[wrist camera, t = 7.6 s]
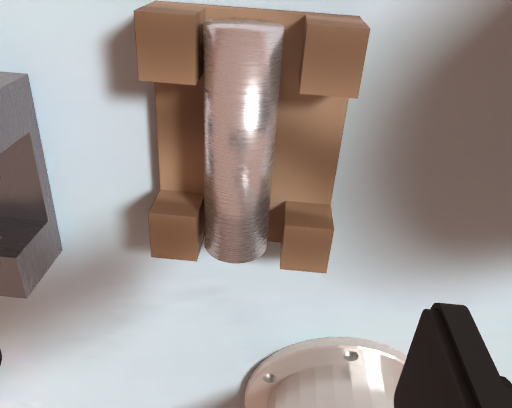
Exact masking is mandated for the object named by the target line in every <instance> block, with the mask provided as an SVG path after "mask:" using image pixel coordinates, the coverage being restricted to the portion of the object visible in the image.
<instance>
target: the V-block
mask: <svg viewBox="0 0 512 408" xmlns="http://www.w3.org/2000/svg"><path fill="white" fill-rule="evenodd" d="M61 251H62V246H61V241H60V236H59V231H58V226H57V221H56V216H55V211H54V206H53V201H52V195H51V190H50V185H49V180H48V175H47V170H46V165H45V160H44V155H43V150H42V144H41V139H40V134H39V129H38V124H37V119H36V114H35V109H34V104H33V99H32V94H31V88H30V83H29V78H28V74H21V73H9V72H0V296H6V297H17V298H27V297H28V296H29V295H30V293H31V292H32V291H33V289H34V288H35V287H36V285H37V284H38V282H39V281H40V280H41V278H42V277H43V276H44V274H45V273H46V272H47V270H48V269H49V268H50V266H51V265H52V264H53V262H54V261H55V259H56V258H57V257H58V255H59V254H60V253H61Z"/></svg>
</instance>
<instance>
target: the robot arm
mask: <svg viewBox="0 0 512 408" xmlns="http://www.w3.org/2000/svg"><path fill="white" fill-rule="evenodd" d="M1 361H2V354H1V350H0V365H1ZM244 408H512V384H511V382H510V381H509V380H508V379H506V378H505V377H503V376H500V375H499V373H498V371H497V369H496V367H495V365H494V362H493V360H492V358H491V356H490V354H489V352H488V350H487V348H486V345H485V343H484V341H483V339H482V337H481V335H480V333H479V331H478V328H477V326H476V324H475V322H474V320H473V318H472V316H471V314H470V311H469V310H468V308H467V307H466V306H464V305H455V304H445V303H434V304H433V305H432V307H431V309H424V310H423V312H422V314H421V317H420V320H419V323H418V326H417V329H416V332H415V334H414V337H413V340H412V343H411V346H410V349H409V352H408V355H407V356H406V355H404V354H403V353H402V352H400V351H398V350H396V349H393V348H391V347H389V346H387V345H384V344H381V343H377V342H374V341H370V340H366V339H359V338H352V337H324V338H317V339H310V340H306V341H302V342H299V343H295V344H292V345H289V346H287V347H285V348H283V349H281V350H279V351H276V352H275V353H273V354H272V355H270V356H269V357H268V358H266V359H265V360H263V361H262V362H261V363H260V364H259V366H258V367H257V368H256V369H255V370H254V371H253V373H252V374H251V376H250V378H249V380H248V382H247V386H246V390H245V400H244Z"/></svg>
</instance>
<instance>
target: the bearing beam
mask: <svg viewBox="0 0 512 408" xmlns="http://www.w3.org/2000/svg"><path fill="white" fill-rule="evenodd" d="M216 18H251V19H261V20H267V21H272V22H276V23H280V24H282V25H283V26H284V36H283V49H282V61H281V74H280V87H279V99H278V112H277V125H276V137H275V150H274V163H273V175H272V188H271V200H270V213H269V226H268V238H267V241H272V242H281V255H280V269H285V270H296V271H306V272H317V273H326V271H327V266H328V260H329V255H330V249H331V243H332V238H333V232H334V226H333V219H332V212H331V205H330V204H331V198H332V193H333V187H334V181H335V175H336V169H337V163H338V157H339V151H340V145H341V140H342V134H343V128H344V122H345V116H346V110H347V104H348V98H358V94H359V88H360V83H361V77H362V71H363V66H364V60H365V55H366V49H367V44H368V38H369V33H370V28H369V27H368V26H367V25H366V23H365V22H364V21H363V20H362V19H361V18H360V16H350V15H337V14H324V13H310V12H297V11H284V10H271V9H258V8H245V7H231V6H218V5H205V4H192V3H179V2H166V1H154V2H152V3H150V4H147V5H145V6H143V7H141V8H138V9H136V10H134V23H135V36H136V50H137V64H138V78H139V81H149V82H155V98H156V116H157V135H158V153H159V172H160V192H159V193H158V195H157V197H156V199H155V201H154V203H153V205H152V207H151V209H150V211H149V212H148V217H149V231H150V245H151V257H156V258H166V259H177V260H188V261H197V259H198V255H199V252H200V249H201V245H202V242H203V239H204V235H205V202H204V70H203V22H204V21H206V20H209V19H216Z"/></svg>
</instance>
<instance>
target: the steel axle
mask: <svg viewBox="0 0 512 408" xmlns="http://www.w3.org/2000/svg"><path fill="white" fill-rule="evenodd" d="M283 36H284V26H283V25H282V24H280V23H276V22H272V21H267V20H261V19H251V18H216V19H209V20H206V21H204V22H203V70H204V202H205V248H206V250H207V252H208V253H209V254H210V255H211V256H212V257H214V258H216V259H218V260H220V261H224V262H228V263H246V262H250V261H253V260H256V259H258V258H259V257H261V256H262V255H263V254H264V253H265V251H266V248H267V238H268V226H269V213H270V200H271V188H272V175H273V163H274V150H275V137H276V125H277V112H278V99H279V87H280V74H281V61H282V49H283Z"/></svg>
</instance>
